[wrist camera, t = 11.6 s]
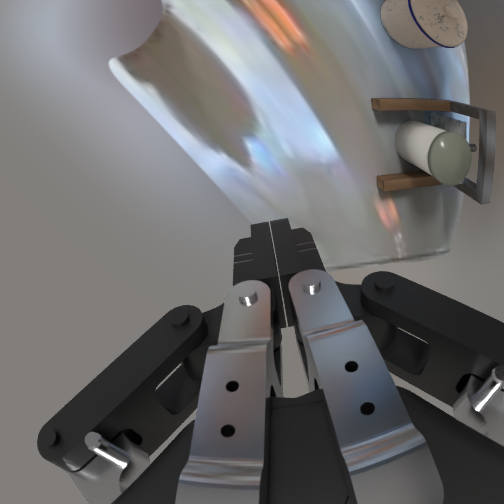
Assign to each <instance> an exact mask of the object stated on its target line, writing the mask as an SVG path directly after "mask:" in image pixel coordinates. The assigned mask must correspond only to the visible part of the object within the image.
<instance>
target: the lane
mask: <svg viewBox="0 0 504 504" xmlns="http://www.w3.org/2000/svg"><path fill="white" fill-rule="evenodd" d="M371 101H372V109H375V110H380V111H383V110H431V111H451V112H455V113H459V114H463V115H466V116H470V117H473V118H476V119H480V138H479V139H480V140H479V141H480V142H479V162H478V175H477V184H476V183H474V182H472V181H471V180H469V179H467V178H466V177H465V178H464V184H457V185H454V186H455V187H456V188H458V189H459V190H461V191H462V192H464V193H465V194H467V195H468V196H470V197H471V198H473V199H474V200H475V201H477V202H478V203H480V204H487V203H490V196H491V189H492V180H493V172H494V159H495V141H496V112H495V111H491V110H488V109H484V108H480V107H477V106H472V105H468V104H464V103H459V102H455V101H450V100H437V99H416V98H371ZM440 184H442V183H441V182H439V181H438V180H436V179H435V178H434V177H433V176H432V175H430V174H429V173H427V172H425V171H419V172H409V173H400V174H391V175H382V176H377V186H378V187H379V188H380V189H382V190H383V191H384V192H385V191H392V190H400V189H407V188H415V187H423V186H432V185H440Z"/></svg>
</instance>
